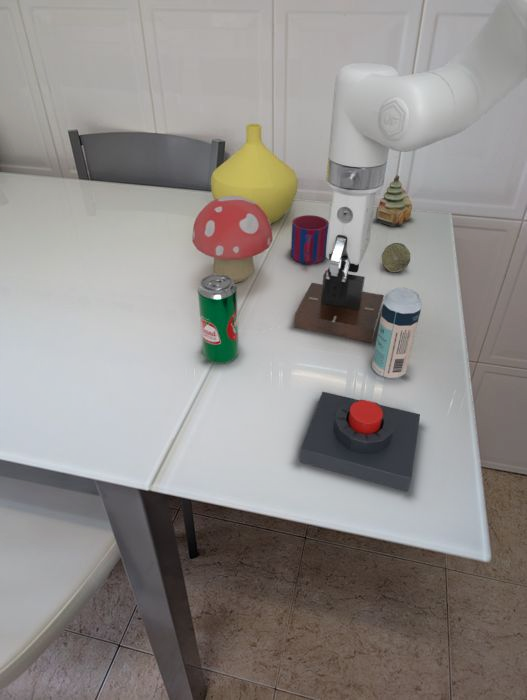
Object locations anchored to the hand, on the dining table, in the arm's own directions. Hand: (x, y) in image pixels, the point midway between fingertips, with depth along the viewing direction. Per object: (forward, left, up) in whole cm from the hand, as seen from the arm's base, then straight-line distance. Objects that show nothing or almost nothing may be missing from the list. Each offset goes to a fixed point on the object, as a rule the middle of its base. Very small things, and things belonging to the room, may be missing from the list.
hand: (341, 285), depth 75 cm
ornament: (-3, -41, -6) cm, 41 cm away
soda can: (+14, +15, -6) cm, 21 cm away
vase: (+26, -32, -6) cm, 41 cm away
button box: (-8, +25, -6) cm, 27 cm away
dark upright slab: (0, 0, -3) cm, 3 cm away
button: (-8, +25, -2) cm, 26 cm away
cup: (+10, -17, -6) cm, 20 cm away
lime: (-6, -19, -6) cm, 21 cm away
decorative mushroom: (+20, -5, -6) cm, 21 cm away
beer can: (-10, +10, -6) cm, 15 cm away
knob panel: (0, 0, -6) cm, 6 cm away
